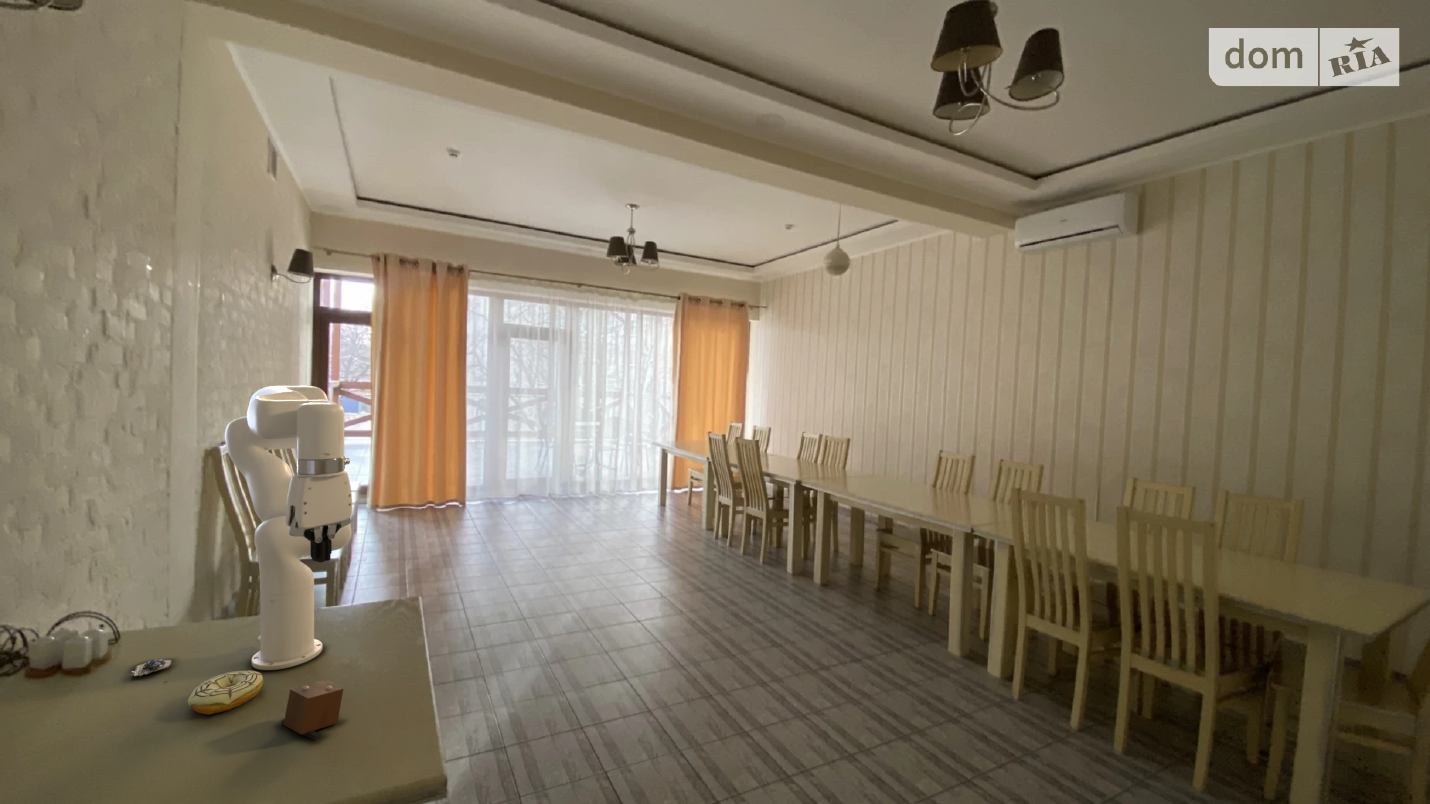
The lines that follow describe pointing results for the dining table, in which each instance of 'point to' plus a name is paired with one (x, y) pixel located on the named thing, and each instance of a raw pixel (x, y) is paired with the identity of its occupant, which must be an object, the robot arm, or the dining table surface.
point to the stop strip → (311, 734)
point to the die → (313, 706)
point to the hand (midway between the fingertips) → (321, 560)
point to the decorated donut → (225, 691)
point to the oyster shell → (151, 667)
